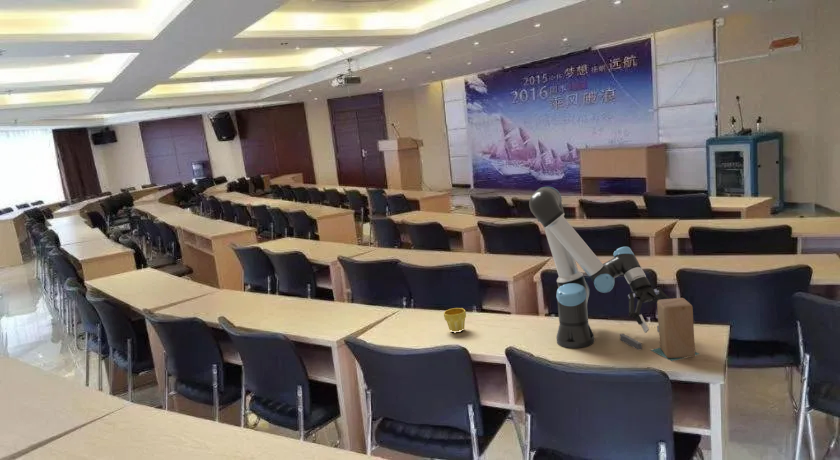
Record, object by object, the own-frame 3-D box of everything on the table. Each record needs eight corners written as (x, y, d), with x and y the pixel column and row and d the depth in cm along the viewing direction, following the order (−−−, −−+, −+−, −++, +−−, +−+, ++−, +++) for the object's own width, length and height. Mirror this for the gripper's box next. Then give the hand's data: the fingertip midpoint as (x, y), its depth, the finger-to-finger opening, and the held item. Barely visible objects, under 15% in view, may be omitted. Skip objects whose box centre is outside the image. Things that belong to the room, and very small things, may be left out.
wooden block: (696, 357, 201) (693, 304, 198) (667, 359, 202) (664, 307, 199) (686, 347, 211) (684, 296, 208) (659, 349, 212) (656, 299, 209)
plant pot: (441, 333, 261) (439, 313, 260) (455, 326, 269) (452, 306, 267) (458, 336, 254) (456, 316, 253) (472, 328, 262) (469, 309, 260)
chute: (620, 340, 226) (619, 334, 225) (660, 330, 230) (660, 325, 229) (638, 349, 214) (638, 343, 214) (680, 339, 218) (680, 333, 218)
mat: (650, 350, 212) (650, 349, 212) (677, 343, 215) (677, 343, 215) (671, 361, 201) (671, 360, 201) (699, 354, 204) (699, 353, 204)
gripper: (660, 280, 230) (686, 326, 218) (606, 291, 225) (630, 338, 214) (668, 271, 224) (695, 317, 212) (613, 281, 219) (637, 329, 208)
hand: (662, 328), depth 213 cm, fingers open, 13 cm apart
